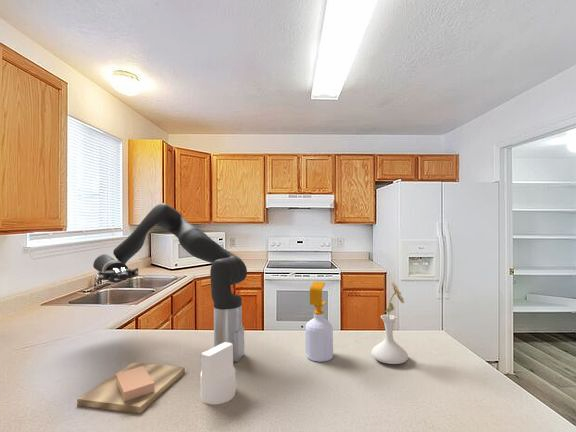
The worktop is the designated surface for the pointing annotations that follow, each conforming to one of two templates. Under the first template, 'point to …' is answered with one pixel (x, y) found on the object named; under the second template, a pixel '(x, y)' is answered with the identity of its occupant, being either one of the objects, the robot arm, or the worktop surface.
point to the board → (112, 399)
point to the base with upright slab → (217, 374)
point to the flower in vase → (390, 338)
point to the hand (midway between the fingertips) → (124, 277)
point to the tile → (134, 383)
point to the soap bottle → (318, 328)
